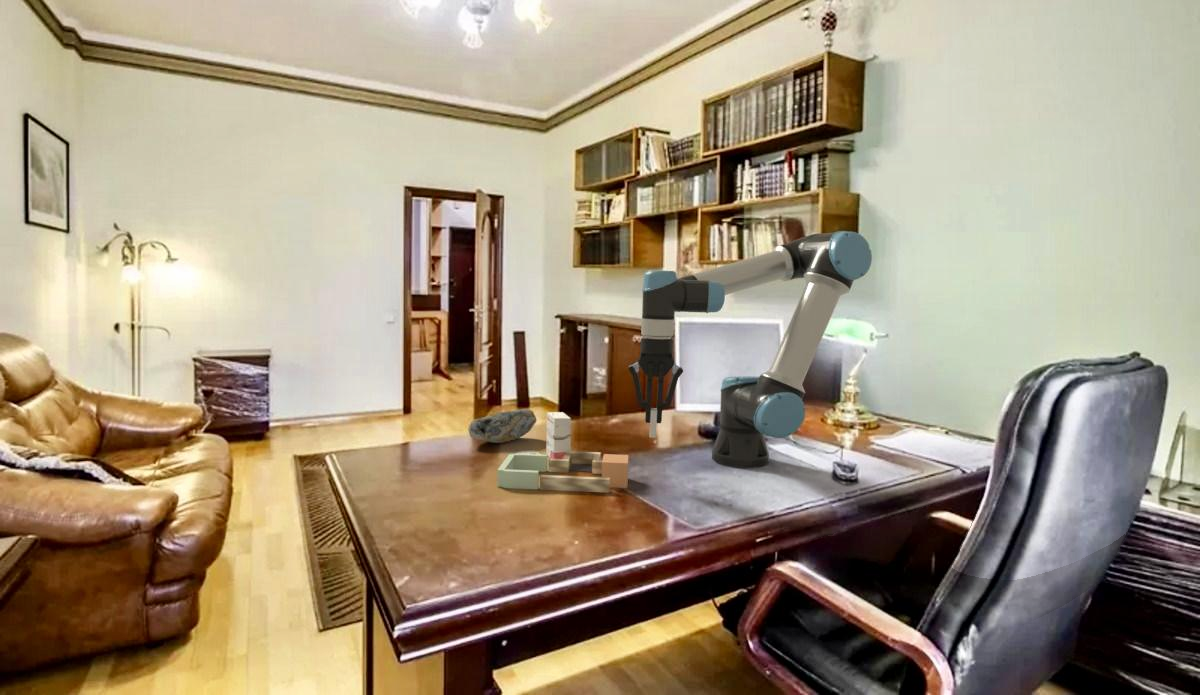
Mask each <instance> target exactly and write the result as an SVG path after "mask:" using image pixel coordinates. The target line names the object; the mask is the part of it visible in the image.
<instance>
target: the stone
mask: <svg viewBox="0 0 1200 695" xmlns="http://www.w3.org/2000/svg"><path fill="white" fill-rule="evenodd" d="M536 422H537V417H536V415H535V413H534V411H533V410H532V409H528V408H520V409H515V410H507V411H506V410H505V411H500V412H496V413H494V414H492V415H488V416H485V417H481V418H475V419H473V420H472V421H470V423H469V425H468V434H469V437H471V439H472V440H475V441H481V442H487V443H493V444H495V443H496V444H499V443H500V444H503V443H509V442H511V440H512V441H514V440H518V439H520V438H522V437H524V436H525V435H526V434H528V433H529V432H530V431H531V430H532V429H533V427H534V426H535V424H536Z"/></svg>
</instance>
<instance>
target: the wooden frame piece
mask: <svg viewBox="0 0 1200 695" xmlns="http://www.w3.org/2000/svg"><path fill="white" fill-rule="evenodd" d="M601 454H602V452H598V451H574V450H573V451H572V450H571V451H566V454H565V456H564V458H563V459H551V458H548V459H547V471H548V472H549V473H568V474H569V472H587V473H589V472H591V474H594V475H602V461H603V460H601ZM539 490H541V491H542V490H543V491H544V490H545V491H562V492H563V491H564V492H567V491H568V492H586V493H587V492H588V493H590V492H591V493H606V494H607V493H610V490H611V487H610V478H602V476H601V477H596V476H576V475H556V474H555V475H551V474H540V475H539Z"/></svg>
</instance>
